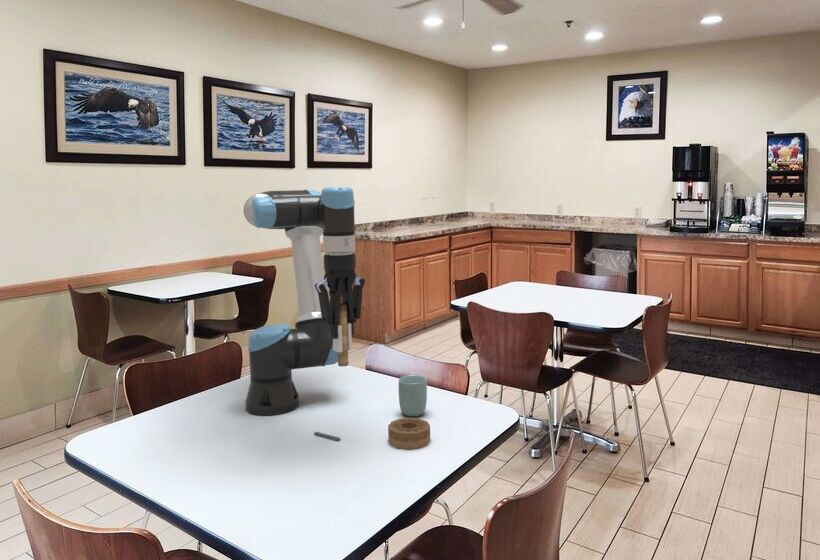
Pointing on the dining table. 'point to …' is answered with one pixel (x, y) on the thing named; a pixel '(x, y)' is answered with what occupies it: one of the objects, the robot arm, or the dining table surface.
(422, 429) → the bead
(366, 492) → the dining table surface
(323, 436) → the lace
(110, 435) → the dining table surface
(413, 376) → the cup
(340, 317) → the wooden rod
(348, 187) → the robot arm
